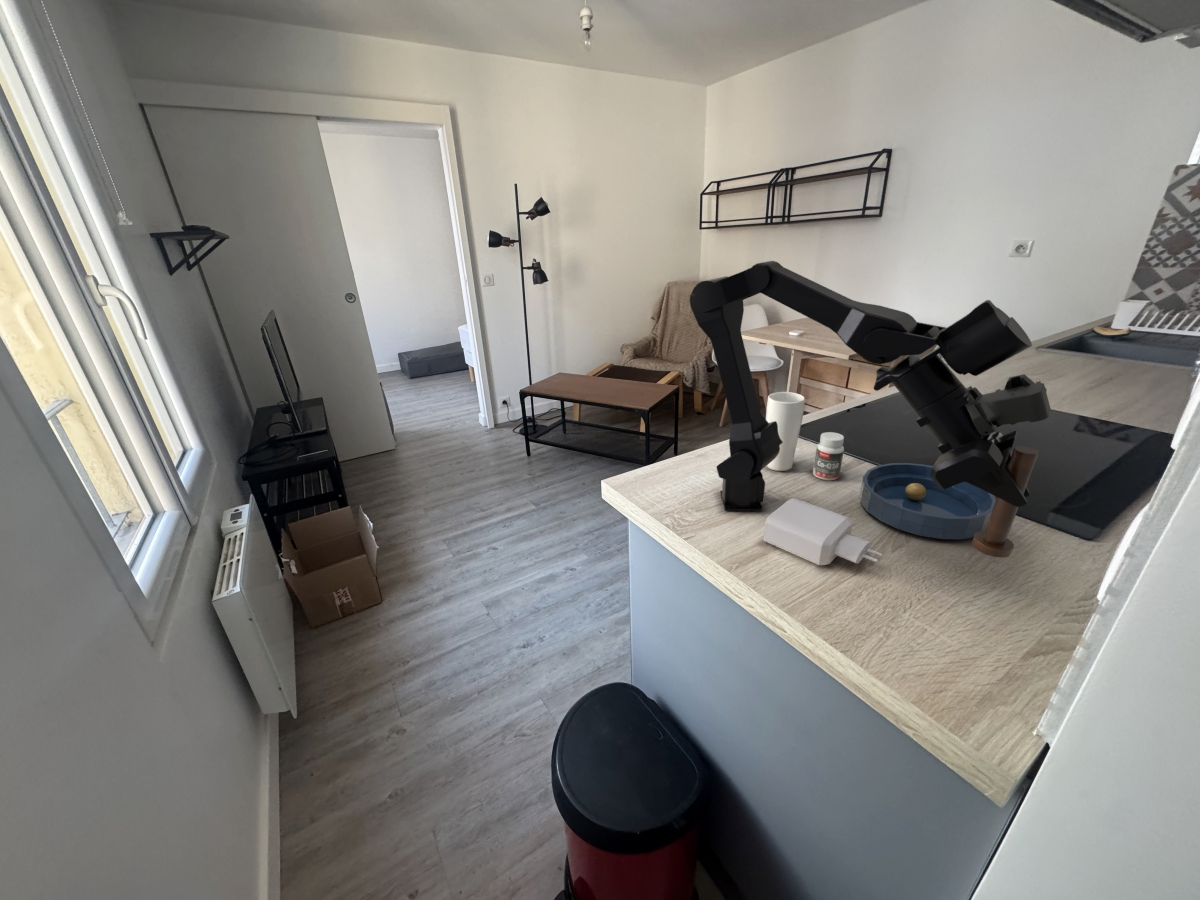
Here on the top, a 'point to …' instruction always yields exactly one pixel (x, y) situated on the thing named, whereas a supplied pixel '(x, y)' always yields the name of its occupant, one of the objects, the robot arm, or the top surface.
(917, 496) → the bead
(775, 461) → the drinking glass
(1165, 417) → the top surface
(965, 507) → the bowl
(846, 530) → the charger
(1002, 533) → the stirring stick
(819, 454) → the pill bottle
